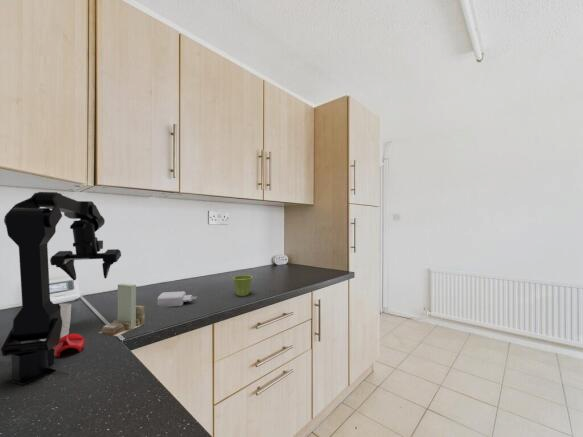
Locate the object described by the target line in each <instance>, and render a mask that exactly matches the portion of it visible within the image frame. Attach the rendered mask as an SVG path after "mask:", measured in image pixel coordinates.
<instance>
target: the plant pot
mask: <svg viewBox="0 0 583 437" xmlns="http://www.w3.org/2000/svg"><path fill="white" fill-rule="evenodd" d="M232 279H233V280H234V285H235V294H236V296H240V297H247V296H248V295H250V290H251V283H252V279H253V276H252V275H248V274H247V275H246V274H244V275H243V274H242V275H235V276H233V277H232Z"/></svg>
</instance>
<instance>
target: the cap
mask: <svg viewBox="0 0 583 437" xmlns="http://www.w3.org/2000/svg"><path fill="white" fill-rule="evenodd" d="M85 344H86V342H85V338H84V337H83V336H82V335H81V334H79V333H69V334H68V335H66V336H64V337H62V338H60V340H59V343H58V344H56V345H55V346H54V347H53V349H54V358H55V357H56V358H60V355H61V352H63V351H65V350H66V349H69V348H70V349H77V350H78V352H79V353H80V352H82V349H83V348H84V346H85Z"/></svg>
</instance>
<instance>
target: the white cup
mask: <svg viewBox="0 0 583 437" xmlns="http://www.w3.org/2000/svg"><path fill="white" fill-rule="evenodd" d="M58 304H59V305H60V307H61V310H60V313H61V319H62V329H61V334H60V339H61V338H62V337H64V336H66V335H68V334H70V326H71V317H72V316H71V315H72V314H71V312H72V304H71V303H58ZM40 341H46V339H40V340H39V342H40Z"/></svg>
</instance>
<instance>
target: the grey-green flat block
mask: <svg viewBox="0 0 583 437" xmlns="http://www.w3.org/2000/svg"><path fill="white" fill-rule="evenodd" d="M136 305H137V284H134V283H125V282H123V283H118V284H117V321H122V322H128V323H131V328H133V327H135V326H136Z"/></svg>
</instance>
